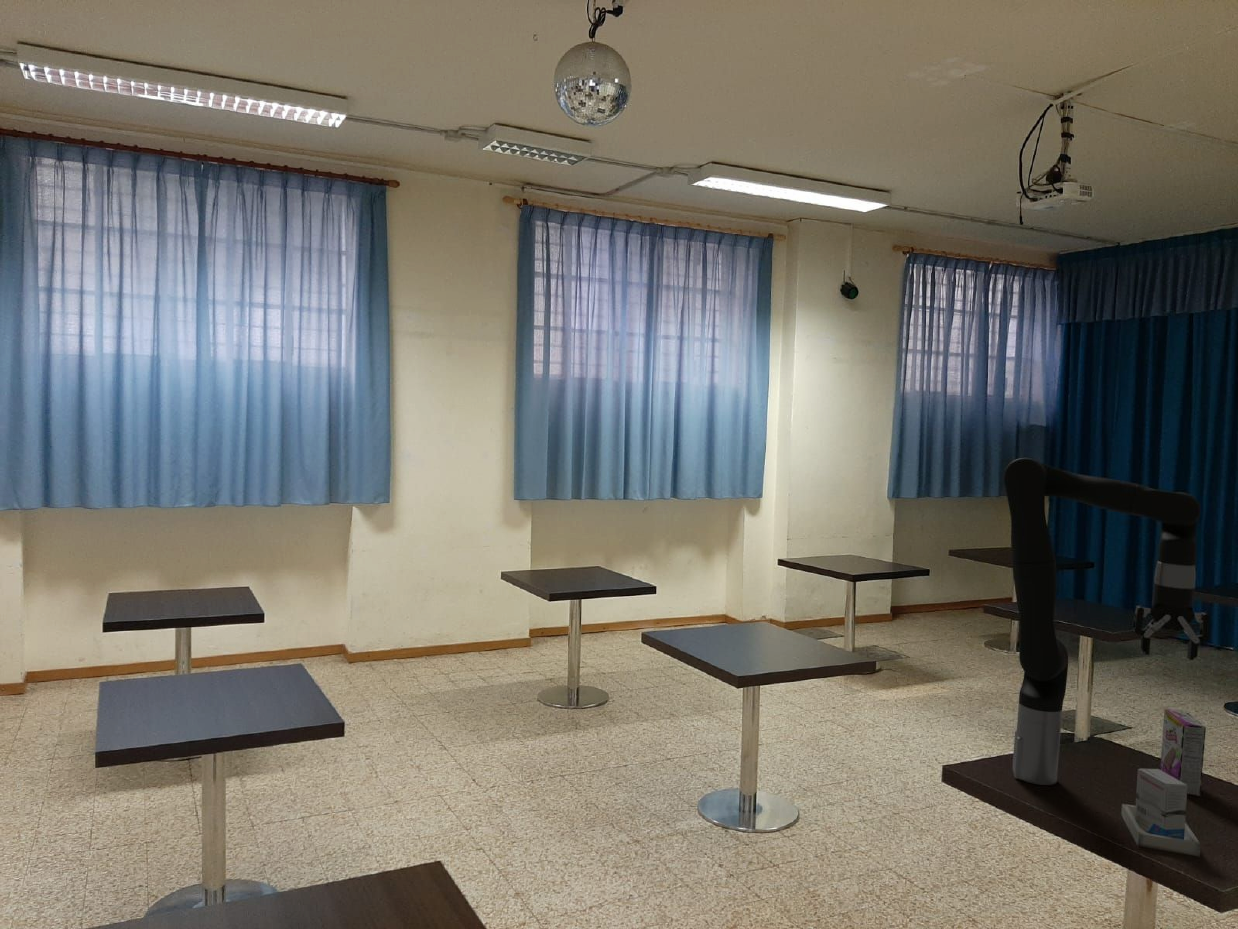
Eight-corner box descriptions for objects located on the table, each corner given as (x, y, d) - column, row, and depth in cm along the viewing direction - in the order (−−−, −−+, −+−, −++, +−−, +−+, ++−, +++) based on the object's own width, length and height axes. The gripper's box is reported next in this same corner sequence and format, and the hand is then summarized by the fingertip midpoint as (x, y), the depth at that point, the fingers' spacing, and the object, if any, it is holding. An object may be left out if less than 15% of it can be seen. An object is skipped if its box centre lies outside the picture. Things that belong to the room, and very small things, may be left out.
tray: (1137, 845, 174) (1138, 833, 174) (1121, 815, 188) (1122, 803, 188) (1199, 856, 171) (1200, 844, 171) (1178, 824, 185) (1179, 813, 185)
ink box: (1185, 842, 176) (1190, 785, 175) (1162, 843, 175) (1167, 785, 174) (1154, 822, 184) (1158, 767, 184) (1132, 822, 184) (1136, 767, 183)
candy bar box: (1157, 775, 212) (1163, 708, 211) (1180, 777, 211) (1186, 710, 210) (1177, 794, 201) (1183, 723, 200) (1201, 797, 200) (1207, 726, 199)
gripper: (1141, 583, 191) (1135, 656, 192) (1217, 590, 186) (1211, 665, 187) (1133, 577, 198) (1127, 648, 199) (1206, 584, 194) (1200, 656, 195)
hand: (1168, 656), depth 193 cm, fingers open, 8 cm apart
